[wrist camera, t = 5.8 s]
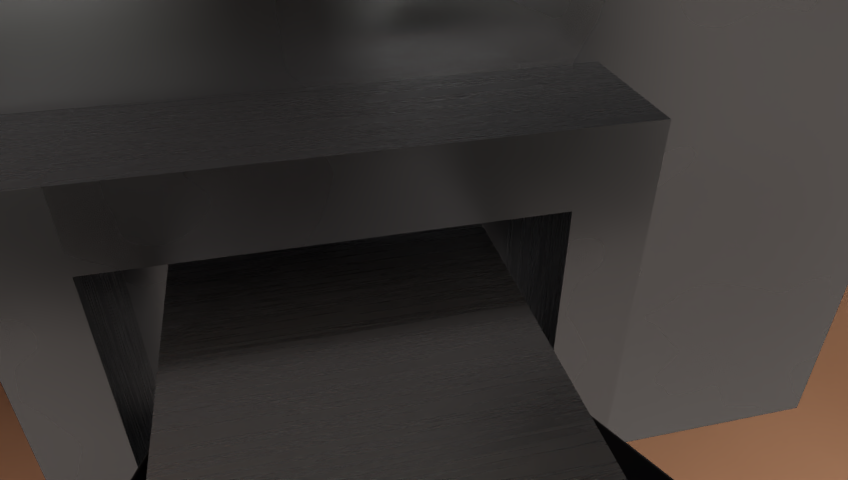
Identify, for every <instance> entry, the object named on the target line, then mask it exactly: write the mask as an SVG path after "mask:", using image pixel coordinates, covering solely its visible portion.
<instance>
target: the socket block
mask: <svg viewBox="0 0 848 480" xmlns="http://www.w3.org/2000/svg"><path fill="white" fill-rule="evenodd" d="M479 223H481V224H482V225H483V227H484V229H485V231H486V233H487V234H488V236H489V238H490V240H491V241H492V243H493V245H494V247H495V248H496V250H497V252H498V254H499V255H500V257H501V259H502V261H503V262H504V264H505V266H506V268H507V269H508V271H509V273H510V275H511V276H512V278H513V280H514V282H515V283H516V285H517V287H518V289H519V290H520V292H521V294H522V296H523V298H524V299H525V301H526V303H527V305H528V306H529V308H530V310H531V312H532V313H533V315H534V317H535V319H536V320H537V322H538V324H539V326H540V327H541V329H542V331H543V333H544V334H545V336H546V338H547V340H548V341H549V343H550V345H551V347H552V348H553V350H554V352H555V354H556V355H557V357H558V359H559V361H560V363H561V364H562V366H563V368H564V370H565V371H566V373H567V375H568V377H569V378H570V380H571V382H572V384H573V385H574V387H575V389H576V391H577V392H578V394H579V396H580V398H581V399H582V401H583V403H584V405H585V406H586V408H587V410H588V412H589V413H590V415H591V416H592V417H594V418H595V419H596V420H597V421H599V422H600V423H601V424H603V425H604V426H605V427H607V428H608V429H609V430H610V431H612V432H613V433H614V434H616V435H617V436H618V437H619V438H621V439H622V440H623V441H625V442H629V441H633V440H638V439H643V438H648V437H653V436H658V435H663V434H668V433H673V432H678V431H683V430H688V429H693V428H698V427H703V426H708V425H713V424H718V423H723V422H728V421H733V420H738V419H743V418H748V417H753V416H758V415H763V414H768V413H773V412H778V411H783V410H788V409H793V408H797V405H798V403H799V401H800V398H801V396H802V393H803V391H804V389H805V386H806V384H807V381H808V379H809V377H810V374H811V372H812V369H813V367H814V364H815V362H816V360H817V357H818V355H819V352H820V350H821V348H822V345H823V343H824V340H825V338H826V335H827V333H828V331H829V328H830V326H831V323H832V321H833V319H834V316H835V314H836V311H837V309H838V306H839V304H840V302H841V299H842V297H843V294H844V292H845V290H846V287H847V285H848V0H0V382H1V384H2V386H3V388H4V390H5V392H6V395H7V397H8V399H9V401H10V403H11V405H12V408H13V410H14V412H15V414H16V416H17V418H18V421H19V423H20V425H21V427H22V429H23V431H24V434H25V436H26V438H27V440H28V442H29V444H30V447H31V449H32V451H33V453H34V455H35V457H36V460H37V462H38V464H39V466H40V468H41V470H42V473H43V475H44V477H45V479H46V480H131V478H132V477H133V475H134V473H135V472H136V470H137V468H138V467H139V465H140V463H141V462H142V460H143V459H144V457H145V455H146V454H147V452H148V451H149V447H150V437H151V428H152V418H153V408H154V398H155V389H156V379H157V369H158V360H159V350H160V340H161V331H162V321H163V311H164V301H165V292H166V282H167V272H168V264H175V263H182V262H190V261H197V260H205V259H213V258H220V257H228V256H236V255H243V254H251V253H258V252H266V251H274V250H281V249H289V248H297V247H304V246H312V245H319V244H327V243H335V242H342V241H350V240H357V239H365V238H373V237H380V236H388V235H396V234H403V233H411V232H418V231H426V230H434V229H441V228H449V227H457V226H464V225H472V224H479Z"/></svg>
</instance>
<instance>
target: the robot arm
mask: <svg viewBox="0 0 848 480" xmlns="http://www.w3.org/2000/svg"><path fill="white" fill-rule="evenodd" d="M591 417H592V416H591ZM592 419H593V420H594V422H595V424H596V426H597V428H598V429H599V431H600V433H601V435H602V436H603V438H604V440H605V442H606V443H607V445H608V447H609V449H610V450H611V452H612V454H613V456H614V457H615V459H616V461H617V463H618V464H619V466H620V468H621V470H622V471H623V473H624V475H625V477H626V478H627V480H673V479H672V478H671V477H670V476H668V475H667V474H666V473H664V472H663V471H662V470H661V469H659V468H658V467H657V466H655V465H654V464H653V463H652V462H650V461H649V460H648V459H646V458H645V457H644V456H643V455H641V454H640V453H639V452H637V451H636V450H635V449H634V448H632V447H631V446H630V445H628V444H627V443H626V442H625V441H623V440H622V439H621V438H619V437H618V436H617V435H616V434H614V433H613V432H612V431H610V430H609V429H608V428H607V427H605V426H604V425H603V424H601V423H600V422H599V421H597V420H596V419H595V418H594V417H592ZM148 457H149V451H148V452H147V454H146V455H145V457H144V459H143V460H142V462H141V463H140V465H139V467H138V468H137V470H136V472H135V473H134V475H133V477H132V478H131V480H146V476H147V466H148Z"/></svg>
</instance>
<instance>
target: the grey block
mask: <svg viewBox="0 0 848 480" xmlns="http://www.w3.org/2000/svg"><path fill="white" fill-rule="evenodd" d="M146 480H627V478H626V477H625V475H624V473H623V471H622V470H621V468H620V466H619V464H618V463H617V461H616V459H615V457H614V456H613V454H612V452H611V450H610V449H609V447H608V445H607V443H606V442H605V440H604V438H603V436H602V435H601V433H600V431H599V429H598V428H597V426H596V424H595V422H594V420H593V419H592V417H591V415H590V413H589V412H588V410H587V408H586V406H585V405H584V403H583V401H582V399H581V398H580V396H579V394H578V392H577V391H576V389H575V387H574V385H573V384H572V382H571V380H570V378H569V377H568V375H567V373H566V371H565V370H564V368H563V366H562V364H561V363H560V361H559V359H558V357H557V355H556V354H555V352H554V350H553V348H552V347H551V345H550V343H549V341H548V340H547V338H546V336H545V334H544V333H543V331H542V329H541V327H540V326H539V324H538V322H537V320H536V319H535V317H534V315H533V313H532V312H531V310H530V308H529V306H528V305H527V303H526V301H525V299H524V298H523V296H522V294H521V292H520V290H519V289H518V287H517V285H516V283H515V282H514V280H513V278H512V276H511V275H510V273H509V271H508V269H507V268H506V266H505V264H504V262H503V261H502V259H501V257H500V255H499V254H498V252H497V250H496V248H495V247H494V245H493V243H492V241H491V240H490V238H489V236H488V234H487V233H486V231H485V229H484V227H483V225H482V224H481V223H479V224H472V225H464V226H457V227H449V228H441V229H434V230H426V231H418V232H411V233H403V234H396V235H388V236H380V237H373V238H365V239H357V240H350V241H342V242H335V243H327V244H319V245H312V246H304V247H297V248H289V249H281V250H274V251H266V252H258V253H251V254H243V255H236V256H228V257H220V258H213V259H205V260H197V261H190V262H182V263H175V264H168V272H167V282H166V292H165V301H164V311H163V321H162V331H161V340H160V350H159V360H158V369H157V379H156V389H155V398H154V408H153V418H152V428H151V437H150V447H149V457H148V466H147V476H146Z"/></svg>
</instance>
